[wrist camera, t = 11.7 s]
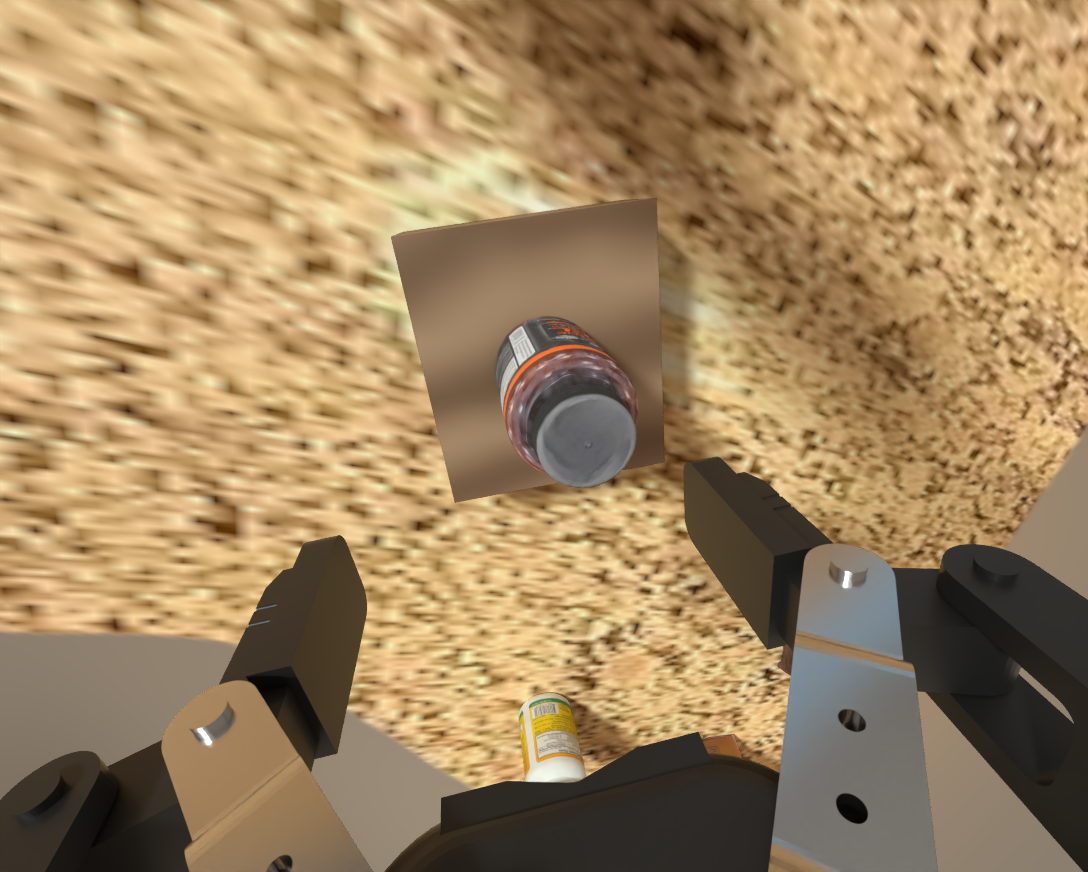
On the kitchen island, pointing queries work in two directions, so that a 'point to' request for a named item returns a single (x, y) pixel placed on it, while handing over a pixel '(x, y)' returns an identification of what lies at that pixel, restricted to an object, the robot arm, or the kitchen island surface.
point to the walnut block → (518, 295)
